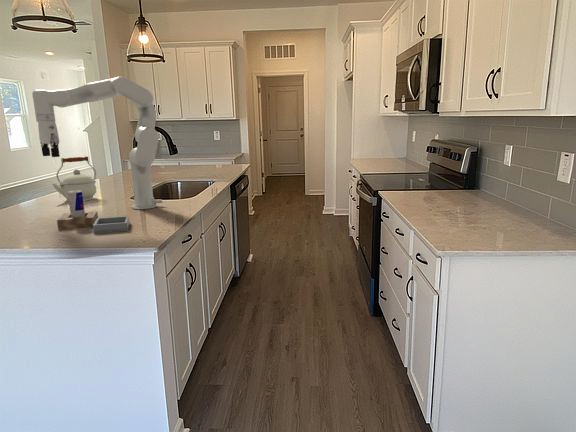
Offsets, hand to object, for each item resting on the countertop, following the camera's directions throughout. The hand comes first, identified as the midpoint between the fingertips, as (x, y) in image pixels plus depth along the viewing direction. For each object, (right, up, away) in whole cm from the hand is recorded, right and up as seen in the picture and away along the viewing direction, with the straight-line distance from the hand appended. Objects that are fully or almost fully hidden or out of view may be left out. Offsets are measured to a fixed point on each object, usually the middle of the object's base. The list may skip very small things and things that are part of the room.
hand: (51, 156), depth 186 cm
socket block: (+16, -31, -7) cm, 36 cm away
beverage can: (+16, -32, -7) cm, 36 cm away
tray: (+35, -33, -14) cm, 50 cm away
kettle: (-14, -19, +49) cm, 54 cm away
